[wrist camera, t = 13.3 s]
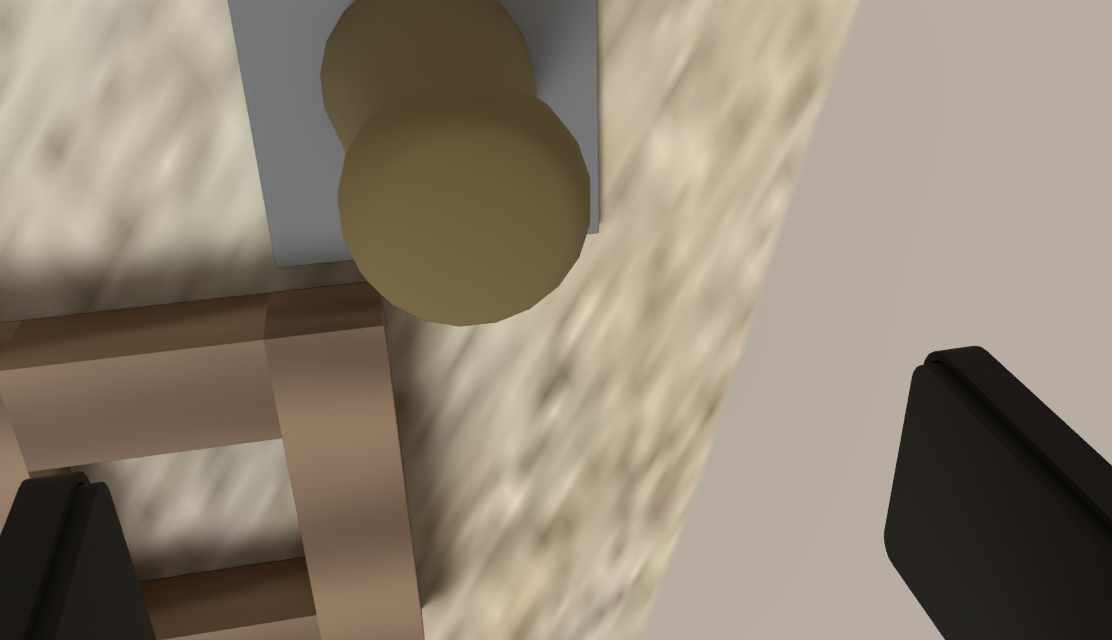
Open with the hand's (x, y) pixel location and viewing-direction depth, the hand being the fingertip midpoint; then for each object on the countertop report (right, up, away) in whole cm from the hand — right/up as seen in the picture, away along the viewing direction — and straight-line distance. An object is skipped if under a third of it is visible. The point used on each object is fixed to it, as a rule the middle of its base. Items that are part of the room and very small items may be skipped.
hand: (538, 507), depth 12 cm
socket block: (-12, -4, +23) cm, 26 cm away
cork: (-3, +9, +17) cm, 20 cm away
